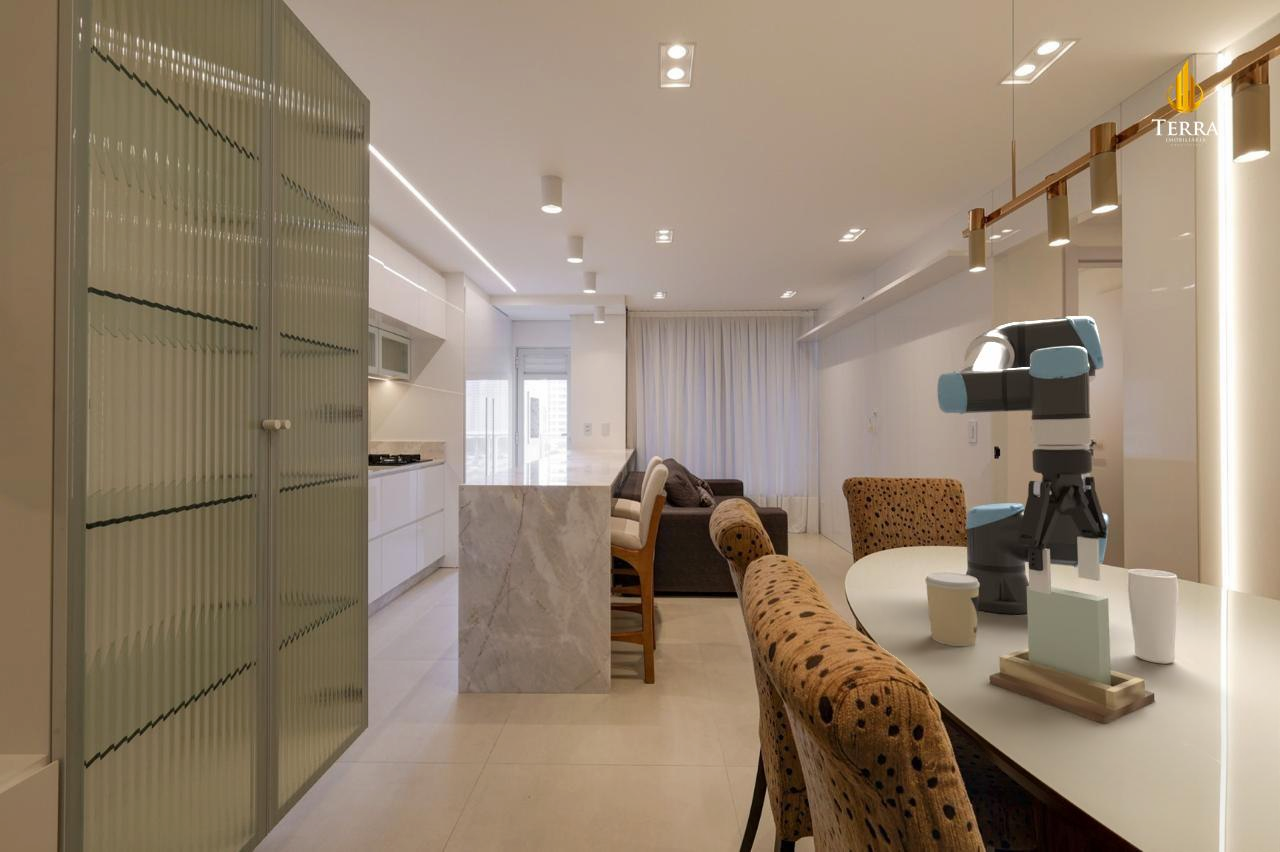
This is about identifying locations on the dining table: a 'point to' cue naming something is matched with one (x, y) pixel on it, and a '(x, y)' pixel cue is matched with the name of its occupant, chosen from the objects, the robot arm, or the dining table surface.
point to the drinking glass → (1153, 613)
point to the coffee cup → (953, 608)
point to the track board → (1066, 699)
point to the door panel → (1070, 633)
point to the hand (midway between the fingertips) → (1065, 585)
